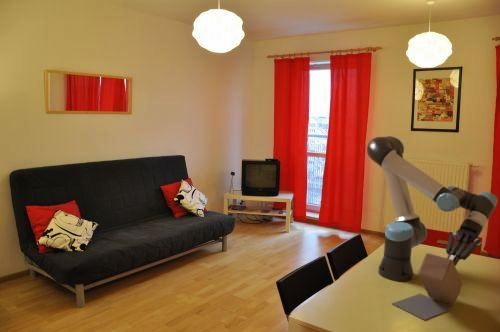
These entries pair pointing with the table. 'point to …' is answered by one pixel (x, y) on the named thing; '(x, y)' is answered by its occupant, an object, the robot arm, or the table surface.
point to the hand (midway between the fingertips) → (446, 270)
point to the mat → (422, 306)
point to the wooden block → (440, 278)
